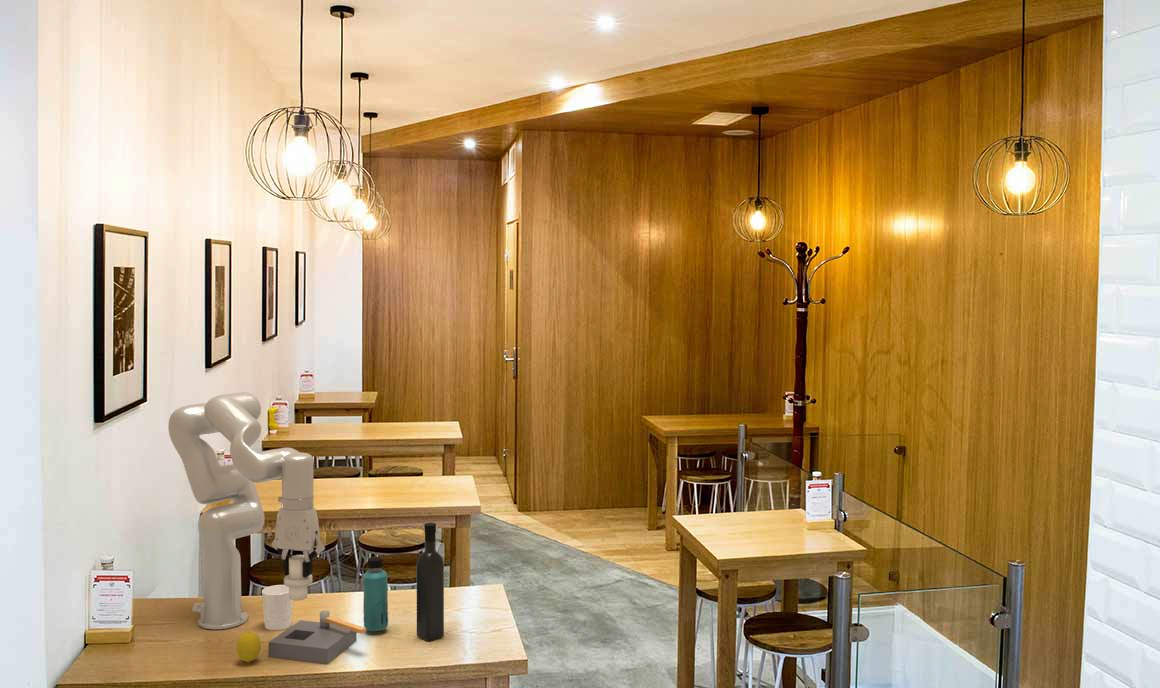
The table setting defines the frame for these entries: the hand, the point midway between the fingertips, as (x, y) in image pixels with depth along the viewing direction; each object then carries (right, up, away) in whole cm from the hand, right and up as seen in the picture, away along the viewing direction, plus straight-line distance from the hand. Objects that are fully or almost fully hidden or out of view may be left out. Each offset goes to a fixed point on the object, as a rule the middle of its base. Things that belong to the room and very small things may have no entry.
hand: (298, 574), depth 235 cm
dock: (+3, -19, +2) cm, 20 cm away
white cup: (-11, -18, +17) cm, 27 cm away
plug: (0, -6, 0) cm, 6 cm away
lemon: (-10, -20, -6) cm, 23 cm away
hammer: (+10, -15, +3) cm, 19 cm away
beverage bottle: (+16, -19, +14) cm, 29 cm away
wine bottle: (+31, -19, +11) cm, 38 cm away
